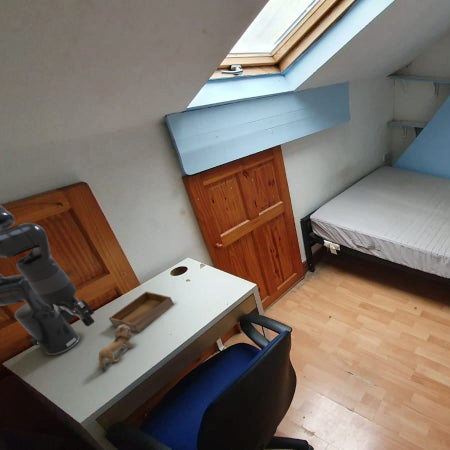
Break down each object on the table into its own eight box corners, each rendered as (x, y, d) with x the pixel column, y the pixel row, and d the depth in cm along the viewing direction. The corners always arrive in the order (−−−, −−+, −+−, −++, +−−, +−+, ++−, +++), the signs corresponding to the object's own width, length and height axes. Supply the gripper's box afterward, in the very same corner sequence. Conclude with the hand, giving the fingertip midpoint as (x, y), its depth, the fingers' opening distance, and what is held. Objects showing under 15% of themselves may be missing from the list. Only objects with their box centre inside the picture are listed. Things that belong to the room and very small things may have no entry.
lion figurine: (127, 338, 120) (117, 322, 115) (141, 338, 120) (131, 322, 115) (96, 372, 107) (83, 356, 103) (111, 372, 107) (99, 356, 103)
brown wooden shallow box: (113, 325, 125) (108, 318, 123) (150, 298, 138) (146, 291, 136) (139, 332, 122) (134, 325, 120) (173, 304, 136) (170, 297, 133)
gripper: (84, 280, 93) (109, 317, 102) (49, 272, 96) (76, 308, 104) (55, 298, 87) (84, 335, 96) (18, 288, 90) (50, 326, 98)
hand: (80, 321), depth 100 cm, fingers open, 8 cm apart
